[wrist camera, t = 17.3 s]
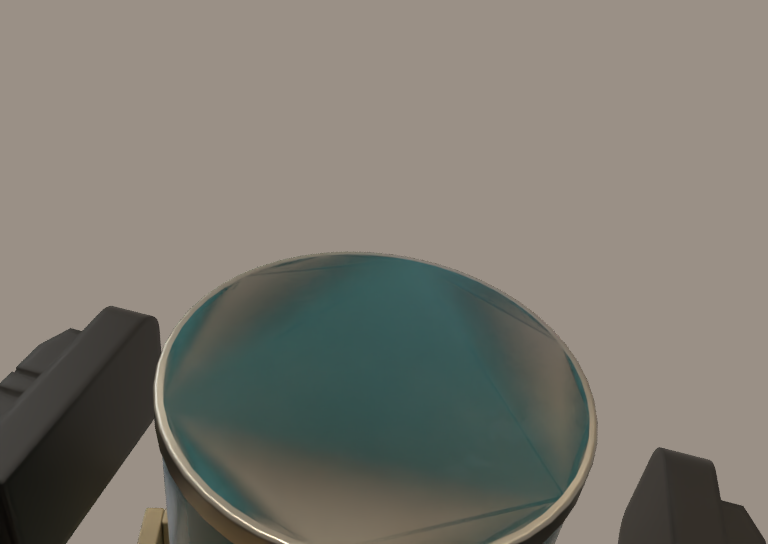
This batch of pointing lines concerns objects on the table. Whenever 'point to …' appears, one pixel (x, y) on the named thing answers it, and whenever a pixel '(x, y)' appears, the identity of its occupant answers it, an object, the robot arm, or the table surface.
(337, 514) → the tin
